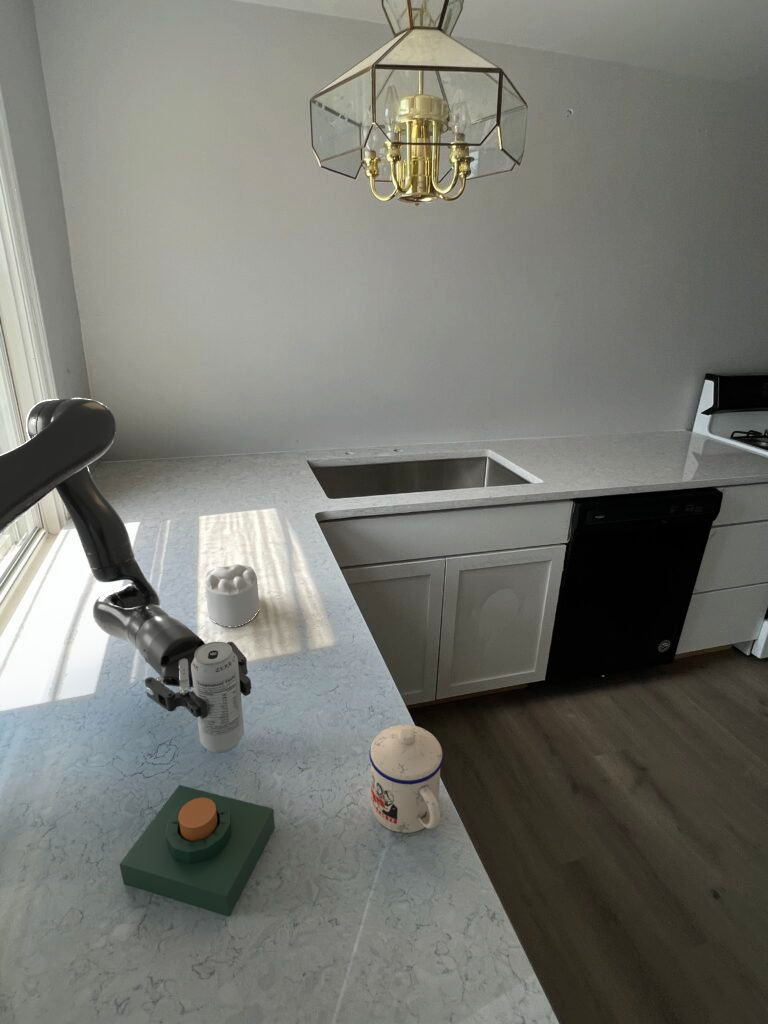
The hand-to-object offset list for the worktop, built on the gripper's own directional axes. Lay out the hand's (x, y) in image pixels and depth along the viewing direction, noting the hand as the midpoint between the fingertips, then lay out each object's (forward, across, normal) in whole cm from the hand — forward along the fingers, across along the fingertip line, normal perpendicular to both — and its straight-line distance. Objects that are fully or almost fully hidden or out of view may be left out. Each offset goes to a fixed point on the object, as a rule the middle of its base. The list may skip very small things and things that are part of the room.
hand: (227, 700), depth 75 cm
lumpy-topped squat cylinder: (-35, +21, +11) cm, 43 cm away
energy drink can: (-2, 0, +9) cm, 9 cm away
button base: (+10, -10, +10) cm, 18 cm away
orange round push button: (+10, -10, +5) cm, 15 cm away
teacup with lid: (+24, +11, +10) cm, 28 cm away
